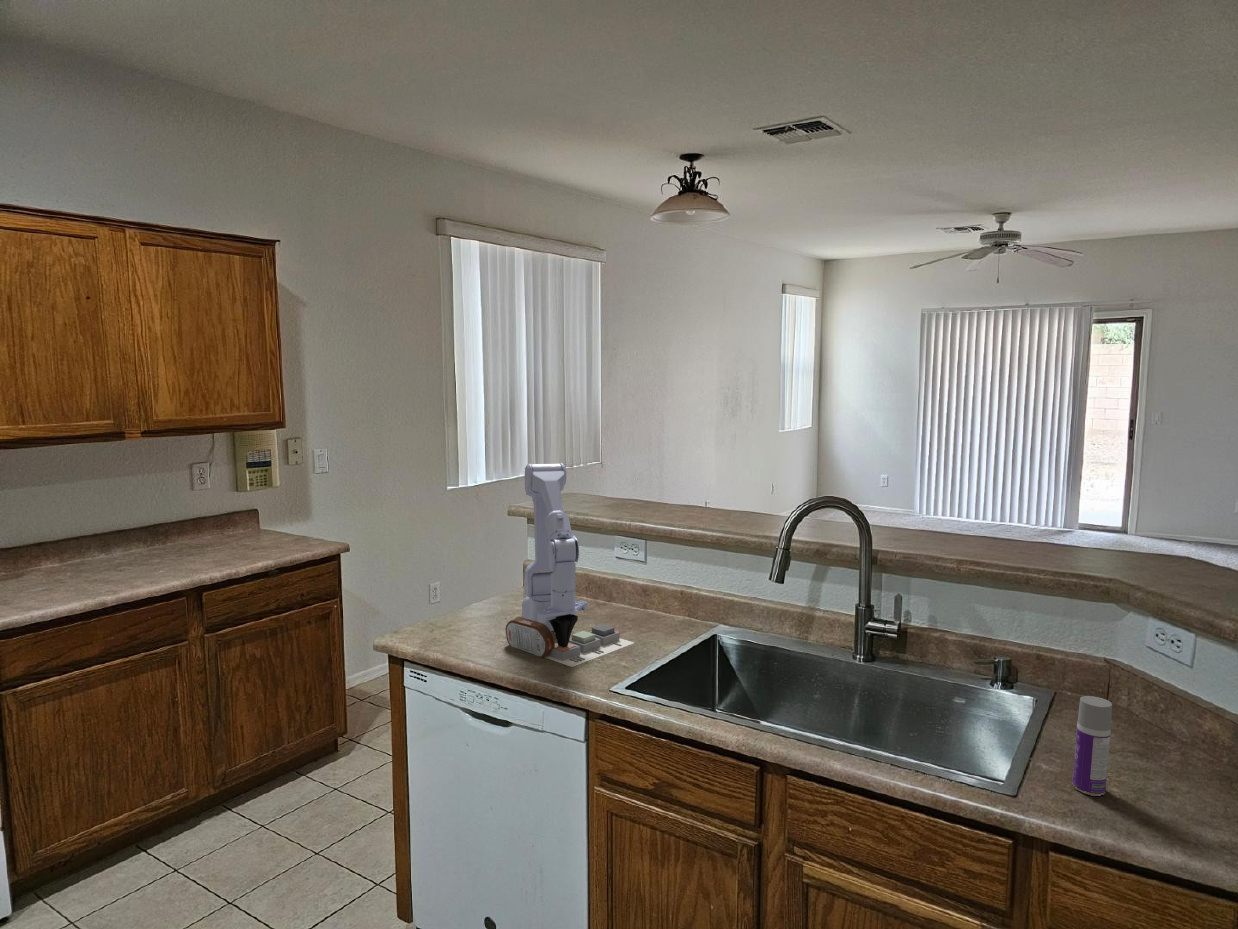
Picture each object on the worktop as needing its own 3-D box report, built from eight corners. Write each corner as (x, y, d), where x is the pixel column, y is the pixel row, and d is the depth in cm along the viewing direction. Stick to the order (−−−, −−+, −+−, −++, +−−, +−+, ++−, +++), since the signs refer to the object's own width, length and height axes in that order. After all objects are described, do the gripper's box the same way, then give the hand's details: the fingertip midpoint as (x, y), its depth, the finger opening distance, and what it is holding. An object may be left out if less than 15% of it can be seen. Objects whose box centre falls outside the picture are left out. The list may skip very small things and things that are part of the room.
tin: (556, 659, 183) (554, 624, 182) (546, 663, 180) (544, 628, 179) (514, 646, 193) (512, 613, 192) (504, 650, 190) (502, 616, 189)
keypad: (537, 658, 184) (537, 646, 184) (600, 636, 200) (600, 624, 200) (572, 671, 176) (572, 658, 176) (634, 646, 193) (635, 635, 193)
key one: (591, 635, 194) (591, 627, 194) (602, 631, 197) (602, 624, 197) (603, 639, 191) (603, 631, 191) (614, 635, 194) (614, 627, 194)
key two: (571, 642, 189) (571, 634, 189) (583, 638, 192) (583, 630, 192) (583, 646, 186) (583, 638, 186) (595, 642, 189) (595, 634, 189)
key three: (550, 654, 184) (550, 646, 183) (562, 650, 187) (562, 642, 186) (562, 658, 181) (562, 650, 181) (574, 654, 184) (574, 645, 184)
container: (1065, 782, 130) (1072, 696, 128) (1092, 781, 130) (1099, 695, 129) (1084, 797, 125) (1092, 707, 124) (1112, 796, 126) (1120, 707, 124)
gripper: (552, 599, 174) (552, 658, 176) (596, 586, 185) (596, 642, 186) (531, 593, 179) (531, 650, 180) (575, 581, 190) (575, 635, 191)
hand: (562, 645), depth 184 cm, fingers closed
